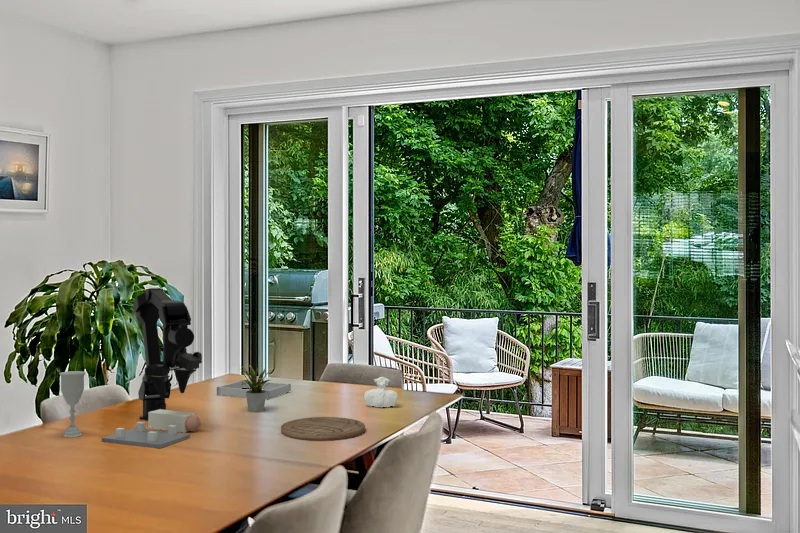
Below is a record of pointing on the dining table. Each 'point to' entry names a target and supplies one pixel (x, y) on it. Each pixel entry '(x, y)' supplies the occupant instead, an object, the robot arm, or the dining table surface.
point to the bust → (381, 394)
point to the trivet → (322, 428)
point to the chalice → (72, 396)
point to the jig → (146, 436)
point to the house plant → (255, 390)
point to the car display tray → (236, 390)
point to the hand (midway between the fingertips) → (172, 395)
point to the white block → (173, 420)
